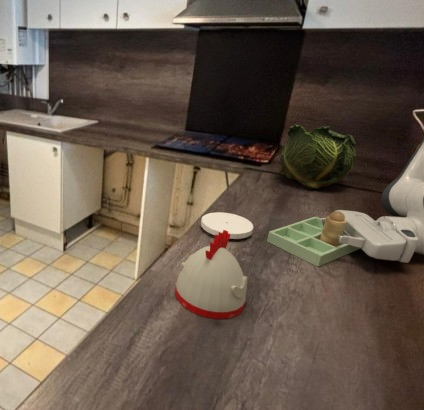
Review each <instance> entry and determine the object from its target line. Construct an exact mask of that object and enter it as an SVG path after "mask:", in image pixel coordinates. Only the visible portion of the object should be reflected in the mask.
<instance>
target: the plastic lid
mask: <svg viewBox="0 0 424 410" xmlns="http://www.w3.org/2000/svg"><path fill="white" fill-rule="evenodd" d="M200 226H201V228H202V229H203V231H205V232H206V233H208V234H210V235H213V236H215V234H216V235H218V234H219V232H221V233H223V230H226V231H228V233H229V234H231V235H230V238H229V240H232V239H233V240H241V239H245V238H249V237H251V236H252V235H253V231H254V224H253V223H252V221H250V220H249V219H247V218H246V217H243V216H240V215H238V214H234V213H230V212H219V211H217V212H209V213H206V214H204V215H202V217H201V220H200Z"/></svg>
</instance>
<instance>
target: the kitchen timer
mask: <svg viewBox="0 0 424 410" xmlns="http://www.w3.org/2000/svg"><path fill="white" fill-rule="evenodd" d="M230 235H231V234H229V233H228V231H226V230H223V233H221V232H219V234H218V235H216V234H215V235H214V238H213V242H212V241H210V243H209V245H208V246H207V245H206V246H204V247H202V248H200V249H198V250H197V251H195V252H193V253H192V254H190V255H189V256H188V258H187V259H186V260H185V261H182V262H181V265H180V269H179V271H180V272H179V274H178V276H177V280H176V284H175V291H174V294H175V297H176V299H177V301H178V302H179V303H180V305H181V306H183V307H184V308H185V309H186V310H188V311H190V312H192V313H193V314H195V315H197V316H202V317H203V318H206V319H207V318H208V319H213V320H228V319H231V318H235V317H236V316H238V315H240V314H241V313H242V312H243V310H244V308H245V306H246V305H245V304H246V301H247V300H246V299H247V296H246V295H247V291H248V276H246V275H244V272H243V270H242V268H241V265H240V263H239V261H238V260H237V259H236V257H235V256H234V254H232V252H230V251H229V250H228V249H227V246H228V244H229V241H230Z"/></svg>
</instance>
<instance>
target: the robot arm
mask: <svg viewBox="0 0 424 410" xmlns="http://www.w3.org/2000/svg"><path fill="white" fill-rule="evenodd" d="M380 199H381V200H380V201H381V205H382V207H383V209H384V211H385V212H386V213H387V214H389V215H388V216H387V215H383V216H380V217H378V218H377V219H376V220H375V219H374V218H372V217H371V216H370V215H368V214H367V213H364V212H360V211H356V210H355V211H354V210H345V209H336V210H335V211H339V212H342V213H343V214H344V216H345V219H346V220H347V223H346V226H345V230H344V233H345V234H346V235H344V234H343V235H342V234H339V235H338V238H337V240H338V241H339V242H340V243H342V244H349V245H352V246H355V247H360V249H361V250H362V251H363V252H364V253H365V254H366V255H367V256H368V257H371V258H373V259H377V260H383V261H398V262H399V263H407V264H408V263H410V261H411V259H412V257H413V255H414V253H417V254H420V255H424V138H423V139H422V140H421V142H420V143H419V145H418V146H417V148H416V149H415V151H414V152H413V154H412V155H411V157H410V158H409V160H408V161H407V163H406V165H405V166H404V168H403V169H402V170H401V172H400V174H399V175H398V176H396V178H395V179H393V180H392V181H391V182H390V183H389V184H388V185H387V186H386V187H385V188H384V189H383V191H382V194H381V198H380ZM325 220H326V217H322V218H321V222H320V223H321V224H322V225H323V226H324V223H325Z"/></svg>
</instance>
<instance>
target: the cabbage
mask: <svg viewBox="0 0 424 410" xmlns="http://www.w3.org/2000/svg"><path fill="white" fill-rule="evenodd" d="M286 135H288V140H286V143H285V145H284V146H283V149H282V151H281V153H280V157H279V163H280V164H279V166H280V168H279V172H278V173H279V174H281V175H284V176H286V177H287V179H289V180H293V181H295V180H296V182H298V183H299V184H301V185H303V186H304V188H305V189H306V190H308V191H312V190H318V189H320V188H321V187H327V186H330V185H333V184H335V183H338V182H339V181H341V180H343V179H344V178H346V177H347V176H348V175H349V174H350V173H351V171H352V169H353V167H354V162H355V161H356V159H357V157H358V156H357V155H358V153H357V149H356V147H357V143H356V141H355V139H354V136H353V135H351V134H350V133H349V134H346V135H343V134H340V133H338V132H335V131H333V130H330V126H327V125H326V126H321V127H314V128H313V129H312V130H311V131H310V132H309V131H308V132H307V130H306V128H305V127H304V126H303V125H298V124H293V125H292V126H291V125H290V126H289V129H288V130H287V133H286Z"/></svg>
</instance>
